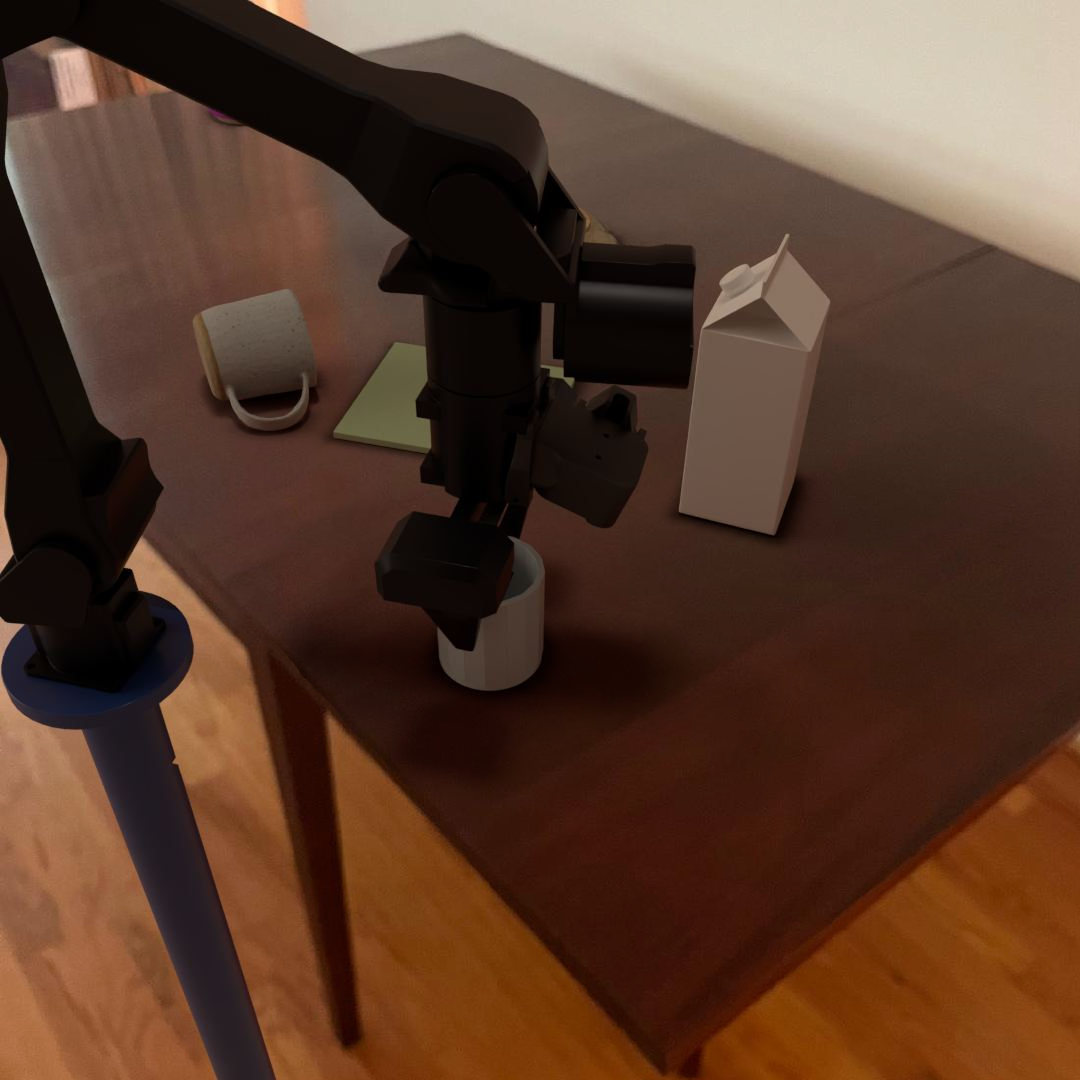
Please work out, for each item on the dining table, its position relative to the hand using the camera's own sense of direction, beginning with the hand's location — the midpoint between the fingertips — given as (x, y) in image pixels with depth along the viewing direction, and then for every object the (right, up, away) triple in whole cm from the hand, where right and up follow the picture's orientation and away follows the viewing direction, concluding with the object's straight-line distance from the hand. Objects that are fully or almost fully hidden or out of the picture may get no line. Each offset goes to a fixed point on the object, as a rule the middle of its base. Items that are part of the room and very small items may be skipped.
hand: (488, 595), depth 68 cm
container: (0, -4, +3) cm, 5 cm away
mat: (-4, +15, +24) cm, 28 cm away
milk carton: (+17, +7, +16) cm, 24 cm away
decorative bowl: (+2, +33, +44) cm, 55 cm away
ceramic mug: (-20, +16, +23) cm, 34 cm away
